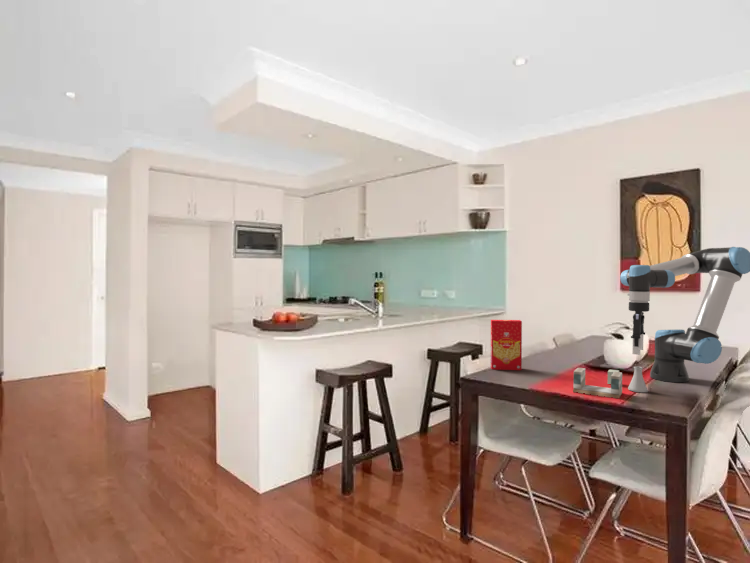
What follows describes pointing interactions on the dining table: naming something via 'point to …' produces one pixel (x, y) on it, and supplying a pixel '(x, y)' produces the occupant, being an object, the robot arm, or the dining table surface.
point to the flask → (638, 381)
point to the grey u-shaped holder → (595, 390)
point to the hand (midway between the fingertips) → (637, 352)
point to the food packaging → (506, 344)
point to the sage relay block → (610, 375)
